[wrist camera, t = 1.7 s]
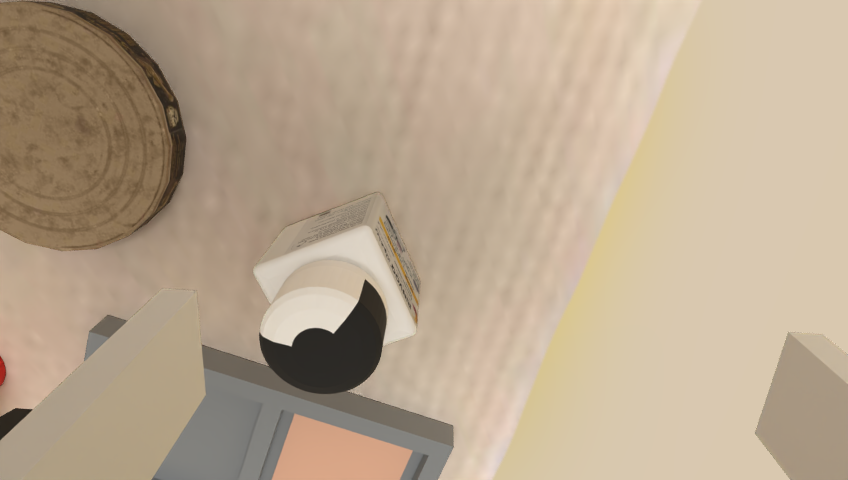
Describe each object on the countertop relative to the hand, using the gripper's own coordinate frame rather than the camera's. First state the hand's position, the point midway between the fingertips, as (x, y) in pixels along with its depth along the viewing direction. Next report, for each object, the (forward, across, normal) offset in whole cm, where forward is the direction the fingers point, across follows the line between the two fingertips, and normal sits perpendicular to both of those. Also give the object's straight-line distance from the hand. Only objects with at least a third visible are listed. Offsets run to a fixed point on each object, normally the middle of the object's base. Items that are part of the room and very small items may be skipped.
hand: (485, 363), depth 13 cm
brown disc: (+28, -26, -1) cm, 38 cm away
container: (+27, -7, -9) cm, 30 cm away
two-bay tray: (+27, -14, -27) cm, 41 cm away
